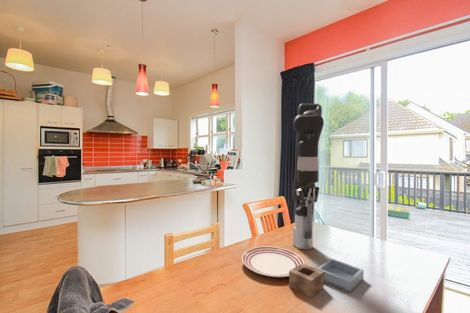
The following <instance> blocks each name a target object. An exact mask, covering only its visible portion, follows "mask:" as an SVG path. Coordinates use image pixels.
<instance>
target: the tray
mask: <svg viewBox="0 0 470 313" xmlns="http://www.w3.org/2000/svg"><path fill="white" fill-rule="evenodd" d="M316 269H318V270H320V271H323V272H324V283H326V284H327V285H330V286H333V287H334V288H338V289H340V290H342V291H344V292H346V293H349V294H351V293H352V292H353V291H354V290H356V288H357V287H358V286H359V285H360V284H361V283H362V281H364V269H362V268H359V267H356V266H354V265H351V264H348V263H345V262H342V261H339V260H336V259H333V258H330V259H329V260H327V261H326V262H324V263H322V264H321V265H319V266H318V267H316Z"/></svg>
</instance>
